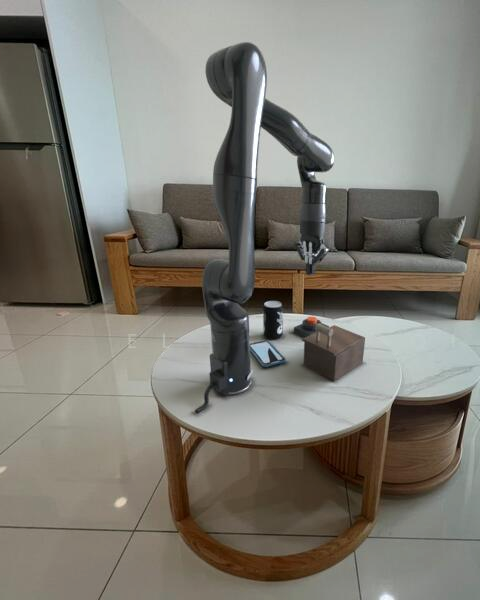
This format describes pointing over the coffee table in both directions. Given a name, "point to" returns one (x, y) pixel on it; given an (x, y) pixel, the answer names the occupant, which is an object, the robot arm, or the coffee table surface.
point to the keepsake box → (333, 360)
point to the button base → (307, 328)
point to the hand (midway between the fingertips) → (310, 274)
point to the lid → (333, 339)
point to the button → (311, 320)
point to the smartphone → (266, 353)
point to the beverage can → (273, 320)
